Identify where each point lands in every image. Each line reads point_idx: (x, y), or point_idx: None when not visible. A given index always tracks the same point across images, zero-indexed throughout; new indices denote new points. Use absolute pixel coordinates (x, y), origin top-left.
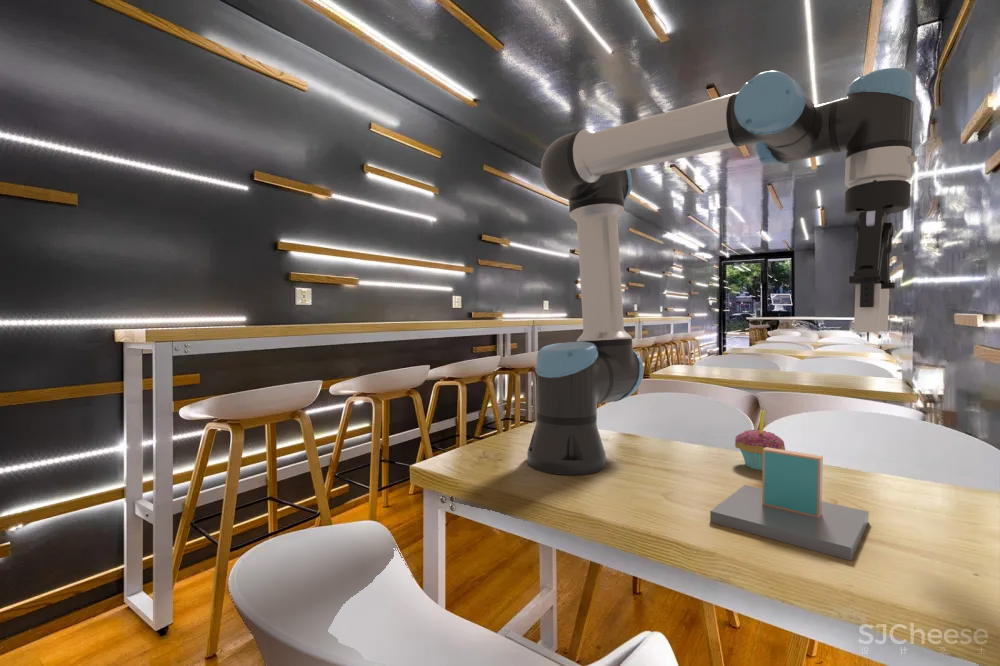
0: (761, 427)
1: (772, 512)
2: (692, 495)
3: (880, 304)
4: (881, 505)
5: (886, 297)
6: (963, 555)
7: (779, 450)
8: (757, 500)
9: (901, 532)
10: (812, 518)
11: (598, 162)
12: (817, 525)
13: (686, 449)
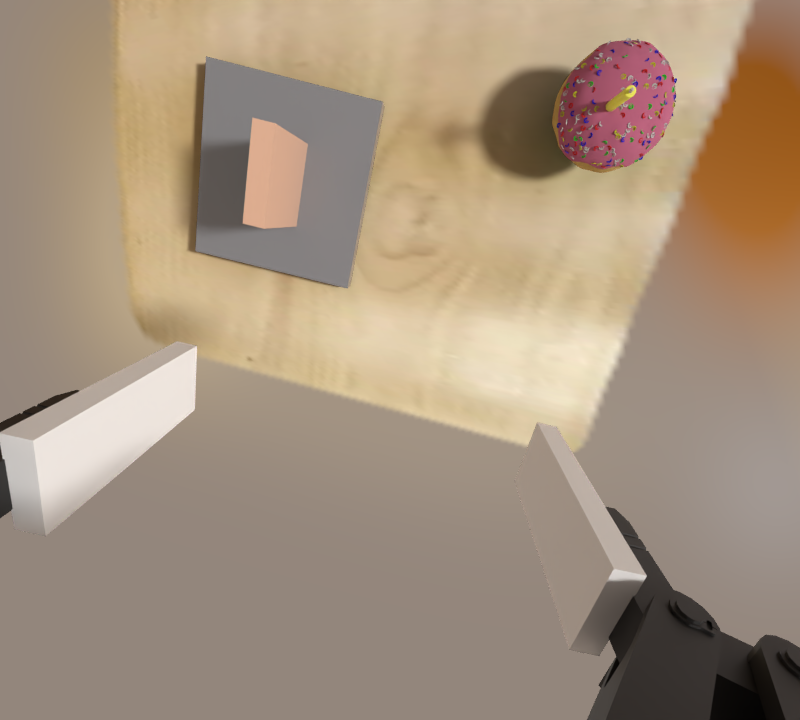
0: (611, 102)
1: None
2: (324, 5)
3: (555, 543)
4: (437, 313)
5: (558, 593)
6: (296, 362)
7: (260, 151)
8: (304, 130)
9: (334, 317)
10: None
11: None
12: None
13: None
